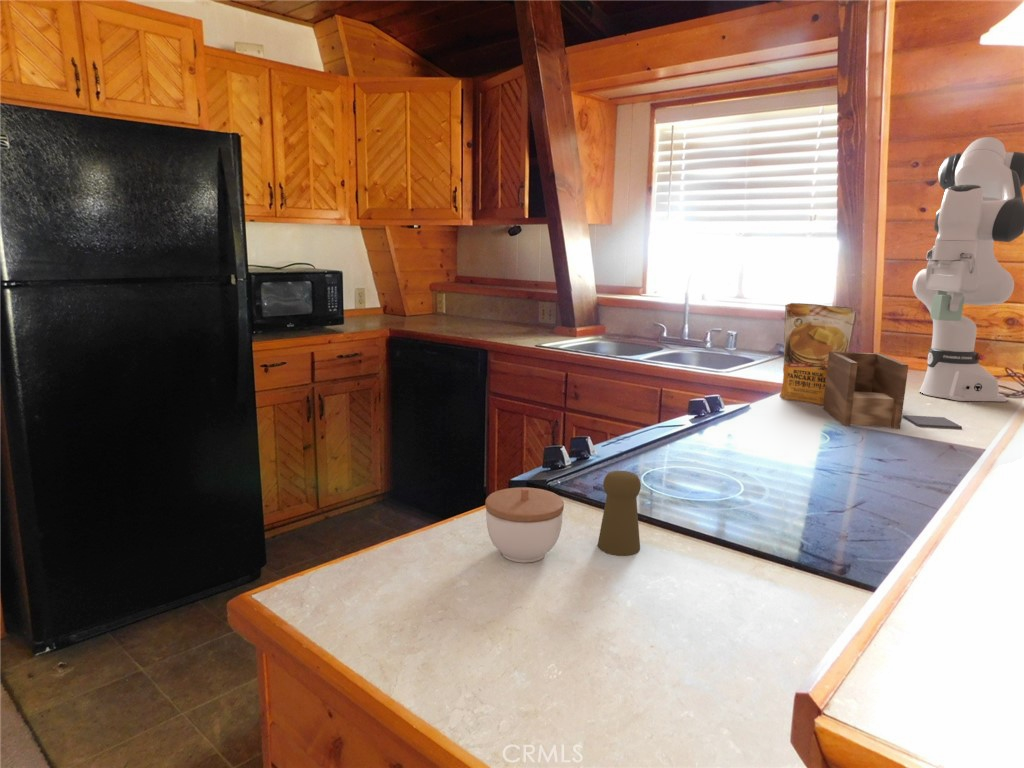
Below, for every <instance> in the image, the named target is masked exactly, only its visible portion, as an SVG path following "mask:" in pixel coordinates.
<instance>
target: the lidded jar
mask: <svg viewBox="0 0 1024 768" xmlns="http://www.w3.org/2000/svg"><path fill="white" fill-rule="evenodd" d="M484 503H485V511H486V512H485V514H486V515H485V516H486V519H485V521H486V526H487V527H486V528H487V532H488V536H489V539H490V540H491V542H492V544H493V546H494V547H495V548H496V549H497V550H498V551H499V552H500V553H501V556H502V557H503V558H505V559H506V560H507V561H511V562H514V563H522V564H523V563H524V564H527V563H534V562H538V561H540V560H542V559H544V558H545V556H546V554H547V553H549V552H550V551H551V550H552V549H553V547H554V546H555V545H556V544H557V542H558V539H559V537H560V533H561V530H562V525H563V515H564V514H563V512H564V508H565V507H564V505H565V503H564V500H563V498H562V497H561V496H559V495H558V494H556V493H555V492H552V491H549V490H546V489H542V488H534V487H524V486H523V487H510V488H504V489H503V488H502V489H500V490H496V491H494V492H492V493H490V494H489V495H488V496H487V498H486V499H485V502H484Z"/></svg>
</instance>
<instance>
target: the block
mask: <svg viewBox="0 0 1024 768" xmlns="http://www.w3.org/2000/svg"><path fill="white" fill-rule="evenodd" d="M964 297H965V296H963V298H962V300H961V302H960V304H959V308H958V311H949V310H948V304H950V301H951V298H952V297H951V295H933V301H932V309H931V314H930V317H929V318H930V319H931V320H932V319H935V320H944V321H961V318H962V315H963V311H964V310H963V309H964V305H965V304H964Z"/></svg>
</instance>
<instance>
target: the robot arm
mask: <svg viewBox="0 0 1024 768" xmlns="http://www.w3.org/2000/svg"><path fill="white" fill-rule="evenodd" d="M937 177H938V179H937V180H938V182H939V187H941V188H942V190H945V191H944V194H943V195H942V196H943V197H942V200H941V203H940V207H939V209H938V210H937V211H936V213H935V221H934V229H933V230H934V231H935V232H936V233H937V235H936V237H935V242H934V246H932V248H931V249H930V250H928V251H927V252H926V256H925V259H926V261H927V265H926V268H923V269H921V270H919V272H918V273H916V275H915V277H914V279H913V281H912V292H913V294H914V296H915V297H916V298H917V299H918V300H919V301H921V302H922V304H924V306H925V307H926V308H927V310H928V311H929V314H930V315H931V309H932V301H933V295H951V297H952V298H951V301H950V304H948V310H949V311H958V308H959V304H960V302H961V300H962V298H963V296H965V297H964V304H963V305H969V306H970V305H971V306H992V305H1001V304H1003V303H1005V302H1007V300H1009V299H1010V298H1011V296H1012V294H1013V292H1014V290H1015V281H1014V278H1013V276H1012V274H1011V273H1010V272H1009V271H1008V270H1007V269H1005V268H1004V267H1002V265H1001V264H1000V263H999V262H998V260H997V258H996V255H995V251H994V244H995V242H1002V243H1003V242H1005V243H1010V242H1012V241H1014V240H1015V239H1017V238H1019V237H1020V236H1022V235H1023V234H1024V198H1023V197H1024V196H1023V192H1022V191H1023V190H1022V187H1024V152H1019V151H1013V152H1009V151H1008V152H1007V151H1006V148H1005V145H1004V143H1003V142H1002V141H1001V140H1000V139H998V138H995V137H993V136H992V137H991V136H984V137H980V138H977V139H975V140H974V141H972V142H971V143H970V144H969V145H968V146H967V147H966V149H965V150H964V151H963V153H959V152H958V153H955V154H952V155H948V157H946V158H945V159H943V162H942V163H941V165H940V167H939V170H938V175H937ZM931 320H932V339H931V346H930V347H929V351H928V353H927V354H928V356H927V368H926V372H925V376H924V378H923V379H924V380H923V381H922V384H921V387H920V389H919V393H920V392H921V393H920V394H922V393H923V394H924V395H926V396H930V397H936V398H940V399H949V400H951V401H957V402H1007V397H1006V396H1005V395H1003V394H1001V393H999V381H998V379H997V378H996V377H995V376H994V375H993V374H992V373H990V371H988V370H987V369H985V367H983V366H982V365H981V364H979V363H980V362H979V361H982V362H985V361H986V360H987V359H988V355H987V354H986V353H979V352H977V351H975V346H976V339H977V332H978V328H977V327H978V326H977V324H976V323H975V322H974V321H973V320H972V319H971V318H968V317H967V316H965V315H963V314H962V318H961V321H944V320H935V319H931Z"/></svg>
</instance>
